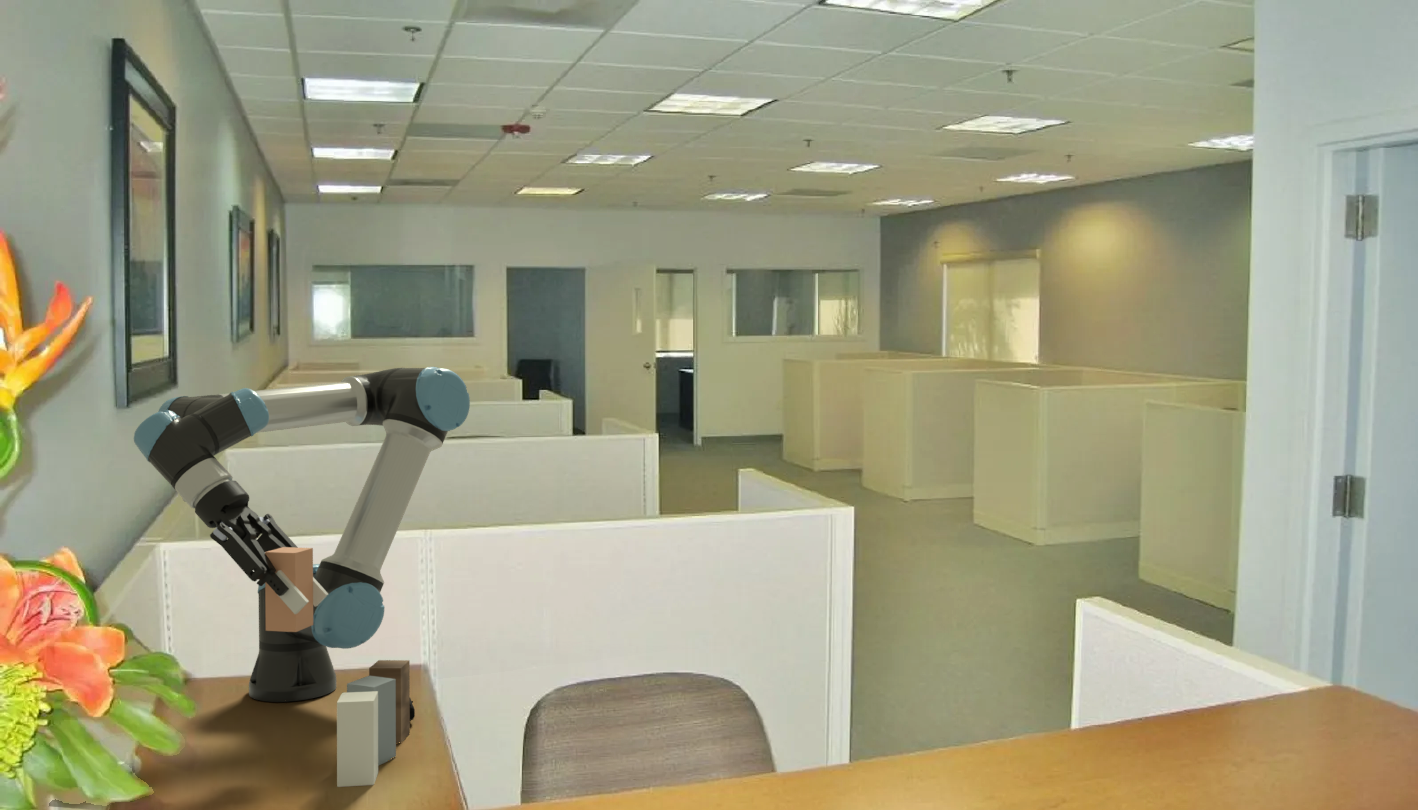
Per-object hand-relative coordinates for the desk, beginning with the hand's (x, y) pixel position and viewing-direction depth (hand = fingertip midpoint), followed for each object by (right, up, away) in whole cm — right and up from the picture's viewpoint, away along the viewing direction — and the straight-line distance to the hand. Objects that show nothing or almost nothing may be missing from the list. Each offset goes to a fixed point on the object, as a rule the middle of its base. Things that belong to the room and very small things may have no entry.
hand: (311, 603), depth 172 cm
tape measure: (+8, -23, +17) cm, 30 cm away
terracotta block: (-4, -4, +1) cm, 5 cm away
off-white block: (+10, -23, -11) cm, 28 cm away
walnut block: (+10, -23, +8) cm, 26 cm away
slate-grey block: (+10, -23, -2) cm, 25 cm away
